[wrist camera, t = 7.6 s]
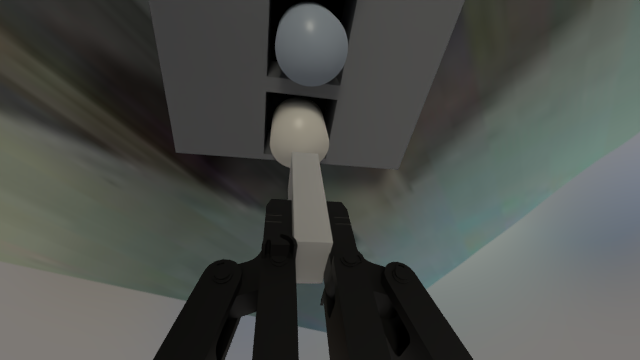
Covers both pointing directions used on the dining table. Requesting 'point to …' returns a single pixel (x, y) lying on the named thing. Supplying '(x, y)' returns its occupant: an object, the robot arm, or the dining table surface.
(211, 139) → the console
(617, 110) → the dining table surface
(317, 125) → the button ivory
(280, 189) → the dining table surface
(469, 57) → the dining table surface
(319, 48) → the button slate
